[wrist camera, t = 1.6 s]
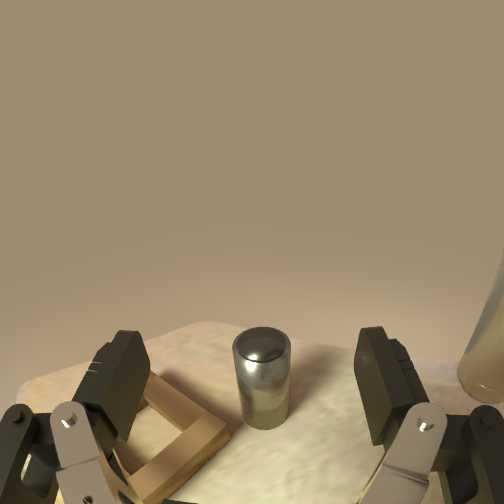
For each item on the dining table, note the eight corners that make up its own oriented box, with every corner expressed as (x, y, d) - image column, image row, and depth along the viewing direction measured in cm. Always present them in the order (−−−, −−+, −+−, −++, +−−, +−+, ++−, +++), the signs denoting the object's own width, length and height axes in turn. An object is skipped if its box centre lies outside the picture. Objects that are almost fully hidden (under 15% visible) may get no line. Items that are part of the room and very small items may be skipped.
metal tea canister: (259, 387, 33) (255, 317, 28) (296, 405, 30) (301, 336, 25) (232, 415, 29) (219, 348, 24) (271, 437, 26) (269, 373, 22)
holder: (150, 381, 34) (143, 364, 32) (230, 438, 27) (227, 423, 25) (72, 439, 25) (59, 424, 23) (142, 518, 18) (129, 510, 17)
